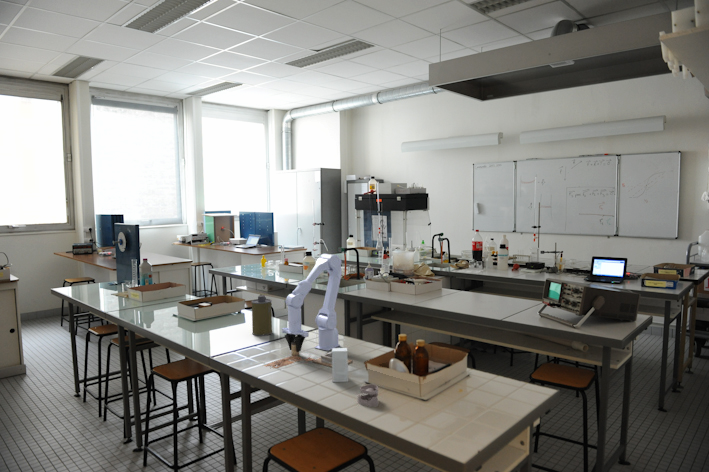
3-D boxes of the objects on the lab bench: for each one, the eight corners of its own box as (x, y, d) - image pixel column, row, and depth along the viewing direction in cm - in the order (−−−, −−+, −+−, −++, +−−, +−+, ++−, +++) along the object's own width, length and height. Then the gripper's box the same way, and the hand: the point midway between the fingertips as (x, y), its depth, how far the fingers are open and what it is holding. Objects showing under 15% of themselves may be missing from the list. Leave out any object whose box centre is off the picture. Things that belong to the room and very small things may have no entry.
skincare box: (347, 377, 182) (347, 347, 181) (348, 381, 178) (347, 351, 177) (332, 378, 182) (331, 347, 181) (332, 382, 178) (331, 351, 177)
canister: (270, 336, 242) (269, 297, 240) (250, 336, 242) (249, 297, 241) (274, 330, 253) (273, 293, 251) (255, 330, 253) (254, 293, 251)
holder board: (327, 356, 209) (327, 349, 208) (352, 361, 201) (352, 354, 200) (312, 362, 201) (312, 355, 200) (338, 368, 192) (338, 361, 192)
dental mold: (385, 402, 160) (385, 388, 159) (373, 409, 155) (372, 394, 154) (367, 396, 165) (367, 382, 165) (354, 402, 160) (354, 388, 159)
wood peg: (295, 353, 213) (294, 340, 213) (301, 354, 211) (300, 341, 211) (289, 355, 210) (289, 342, 210) (295, 356, 208) (295, 343, 208)
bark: (297, 354, 212) (297, 353, 212) (315, 359, 204) (315, 358, 204) (258, 368, 196) (258, 366, 195) (276, 374, 188) (276, 373, 188)
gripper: (276, 320, 211) (277, 350, 212) (300, 324, 202) (301, 355, 203) (287, 317, 216) (288, 346, 217) (311, 321, 208) (312, 351, 209)
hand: (295, 350), depth 211 cm, fingers closed on wood peg, 3 cm apart
